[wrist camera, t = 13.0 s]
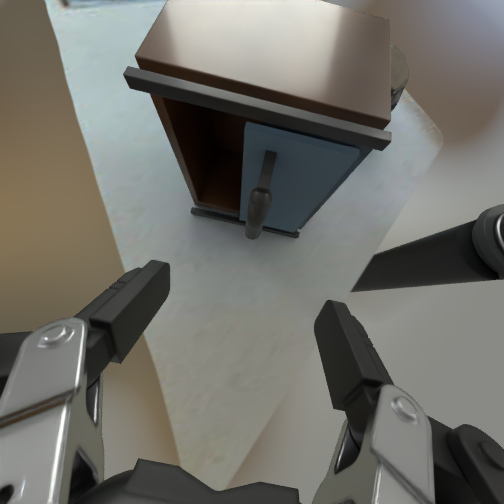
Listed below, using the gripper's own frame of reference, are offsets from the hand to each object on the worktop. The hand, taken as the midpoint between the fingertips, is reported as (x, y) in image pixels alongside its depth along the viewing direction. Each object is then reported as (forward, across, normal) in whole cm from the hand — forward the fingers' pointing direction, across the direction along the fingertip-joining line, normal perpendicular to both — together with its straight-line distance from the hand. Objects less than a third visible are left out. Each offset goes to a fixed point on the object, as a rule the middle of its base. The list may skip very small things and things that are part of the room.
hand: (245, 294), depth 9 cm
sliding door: (+15, -1, +3) cm, 15 cm away
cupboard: (+21, +2, -2) cm, 21 cm away
